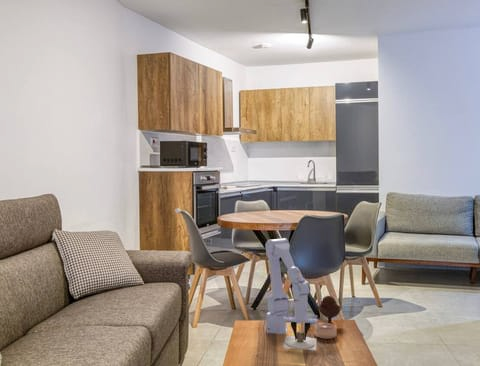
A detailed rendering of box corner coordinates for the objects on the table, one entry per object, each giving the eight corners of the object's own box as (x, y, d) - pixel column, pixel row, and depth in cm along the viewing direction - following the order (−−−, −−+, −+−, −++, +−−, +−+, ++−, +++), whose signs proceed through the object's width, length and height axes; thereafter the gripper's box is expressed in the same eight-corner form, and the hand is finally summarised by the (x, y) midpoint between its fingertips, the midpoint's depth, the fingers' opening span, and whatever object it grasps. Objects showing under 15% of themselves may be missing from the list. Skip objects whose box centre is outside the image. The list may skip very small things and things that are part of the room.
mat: (283, 349, 213) (283, 347, 213) (285, 337, 227) (285, 336, 227) (316, 351, 211) (316, 350, 211) (316, 339, 225) (316, 338, 225)
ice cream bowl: (342, 329, 238) (343, 298, 237) (319, 329, 238) (320, 298, 238) (339, 322, 249) (339, 292, 248) (316, 321, 249) (317, 292, 248)
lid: (284, 347, 214) (284, 336, 213) (286, 336, 227) (286, 326, 226) (315, 349, 212) (315, 338, 211) (315, 338, 224) (315, 328, 224)
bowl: (314, 340, 224) (314, 329, 224) (314, 332, 234) (314, 321, 234) (336, 341, 222) (337, 330, 222) (336, 333, 232) (336, 323, 232)
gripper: (283, 310, 216) (283, 341, 216) (317, 312, 213) (316, 343, 214) (284, 306, 222) (284, 335, 223) (317, 307, 220) (317, 337, 221)
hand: (300, 339), depth 219 cm, fingers open, 3 cm apart
